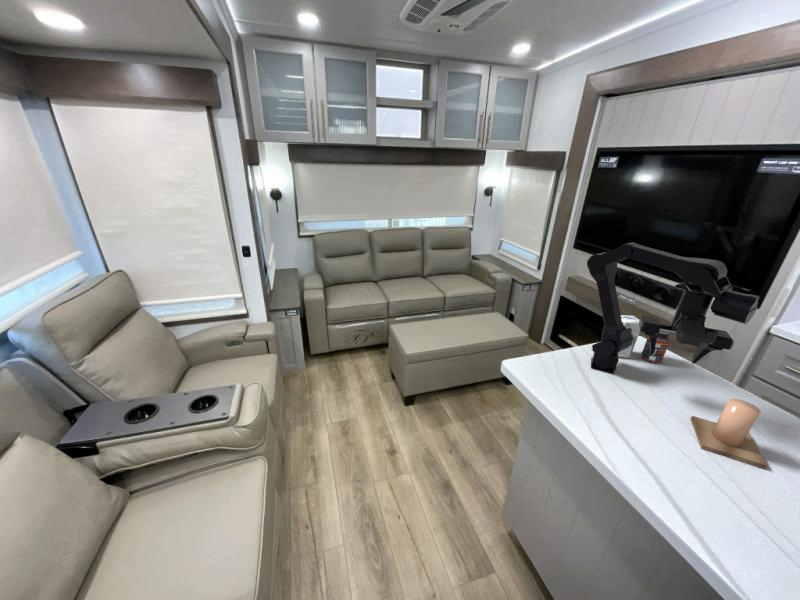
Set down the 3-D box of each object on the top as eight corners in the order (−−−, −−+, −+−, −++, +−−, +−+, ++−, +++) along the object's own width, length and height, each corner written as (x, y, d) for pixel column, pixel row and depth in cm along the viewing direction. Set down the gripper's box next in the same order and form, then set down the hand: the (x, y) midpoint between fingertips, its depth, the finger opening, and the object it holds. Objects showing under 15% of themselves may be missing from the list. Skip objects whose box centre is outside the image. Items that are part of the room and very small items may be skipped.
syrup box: (621, 349, 115) (633, 314, 109) (630, 358, 109) (643, 322, 103) (605, 348, 115) (616, 314, 109) (613, 357, 110) (625, 321, 104)
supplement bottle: (655, 365, 105) (667, 337, 101) (636, 357, 110) (647, 329, 106) (665, 361, 108) (676, 332, 103) (646, 352, 113) (656, 325, 108)
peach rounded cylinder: (724, 446, 74) (742, 413, 70) (706, 429, 78) (722, 397, 75) (747, 447, 73) (767, 414, 69) (727, 430, 78) (745, 399, 74)
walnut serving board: (700, 448, 75) (702, 444, 74) (690, 419, 83) (692, 415, 83) (765, 469, 69) (767, 465, 69) (746, 435, 78) (748, 432, 78)
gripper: (652, 311, 79) (634, 362, 85) (754, 329, 70) (725, 385, 76) (647, 297, 88) (630, 344, 94) (737, 311, 79) (712, 362, 85)
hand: (671, 358), depth 87 cm, fingers open, 9 cm apart
